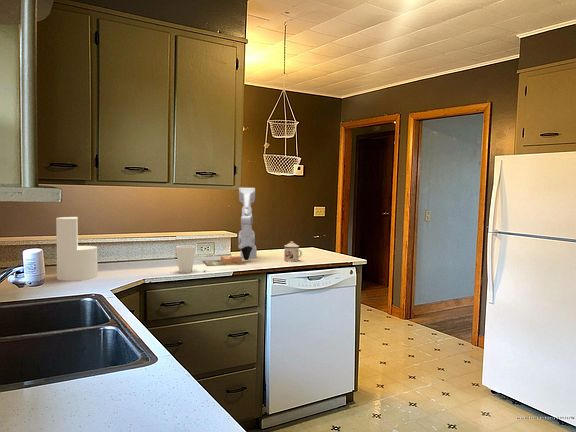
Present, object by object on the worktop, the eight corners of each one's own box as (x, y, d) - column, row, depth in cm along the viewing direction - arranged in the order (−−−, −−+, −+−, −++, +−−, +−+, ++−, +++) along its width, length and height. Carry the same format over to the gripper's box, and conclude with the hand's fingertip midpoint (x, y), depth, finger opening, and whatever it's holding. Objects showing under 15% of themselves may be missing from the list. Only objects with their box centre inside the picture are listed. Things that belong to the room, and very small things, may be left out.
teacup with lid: (280, 260, 268) (281, 241, 268) (290, 259, 276) (290, 240, 275) (296, 262, 261) (297, 243, 260) (305, 261, 268) (306, 241, 268)
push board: (238, 261, 264) (238, 259, 264) (247, 266, 245) (247, 264, 245) (201, 262, 257) (201, 260, 257) (206, 268, 238) (206, 266, 238)
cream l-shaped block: (55, 281, 199) (54, 219, 197) (58, 275, 214) (57, 216, 213) (97, 279, 205) (97, 218, 204) (97, 272, 221) (96, 216, 220)
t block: (238, 260, 260) (238, 255, 260) (243, 263, 249) (243, 258, 249) (220, 261, 257) (220, 255, 256) (224, 264, 245) (224, 258, 245)
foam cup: (198, 270, 230) (198, 245, 230) (188, 274, 222) (188, 248, 221) (182, 269, 233) (182, 245, 233) (172, 272, 225) (172, 246, 224)
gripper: (246, 234, 263) (246, 257, 264) (233, 236, 250) (233, 261, 251) (257, 235, 260) (257, 258, 261) (244, 237, 247) (244, 262, 248)
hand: (246, 259), depth 255 cm, fingers closed
